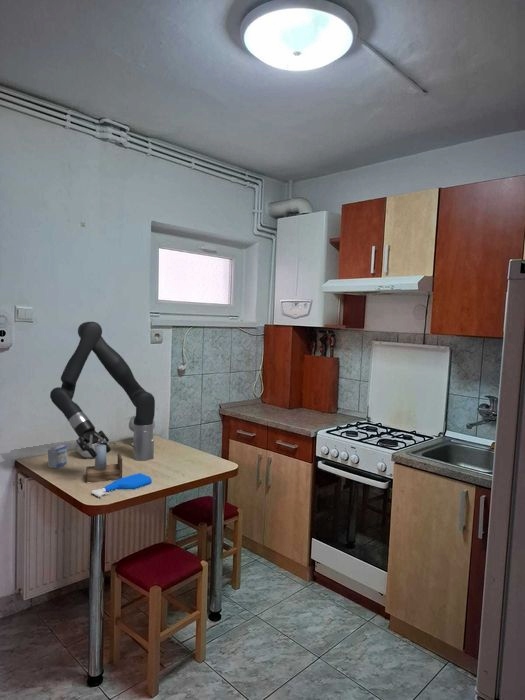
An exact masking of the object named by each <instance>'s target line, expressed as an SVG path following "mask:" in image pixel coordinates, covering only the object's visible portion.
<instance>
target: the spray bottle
mask: <svg viewBox="0 0 525 700" xmlns="http://www.w3.org/2000/svg"><path fill="white" fill-rule="evenodd" d="M152 480H153V479H152V477H151V476H149V475H146V474H144V473H141V472H140V473H135V474H132V475H128V476H123V477H122V478H120V479H118V480H113V481H112V482H110V483H109V484H107V485H105V486H104V487H103V488H98V489H92V490H91V494H94V495H96V496H98V497H97V498H99V497H102V498H103V496H105V495H104V494H106V495H111V492H112V491H111V490H113V491H116V490H115V489H118V490H120V489H133V490H137V489H140V487H141V488H143V487H146V486H148V484H149V485H151V484H152V482H153V481H152ZM150 483H151V484H150ZM145 485H146V486H145ZM142 486H143V487H142ZM136 488H137V489H136ZM109 491H111V492H109ZM104 492H109V493H104ZM94 495H93V496H94ZM96 496H95V497H96Z"/></svg>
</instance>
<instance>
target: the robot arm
mask: <svg viewBox="0 0 525 700" xmlns="http://www.w3.org/2000/svg"><path fill="white" fill-rule="evenodd" d="M77 335H78V336H79V338H80V339H79V342H78V345H77V346H76V349H75V350H74V351H73V354H72V355H71V357H70V358H69V360H68V361H67V363H66V365H65V367H64V369H63V372H62V373H61V376H60V381H61V386H60V387H59V386H58V387H54V388H53V389H52V390H51V391H50V394H49V395H50V400H51V402H52V403H53V404H54V405H55V407H56V408H57V409H58V410H59V411H60V412H61V413H62V414H63V415H64V417H65V418H66V419H67V421H68V423H69V425H70V426H71V428H72V429H73V431H74V433H76V435H77V436H78V437H77V439H76V442H77V443H78V444H79V446H80V448H81V449H82V451H88V452H89V454H90V455H91V456H92V457H93V458H92V459H95V457H96V456H97V453H96V452H95V451H94V449H93V448H92V444H100V445H106V454H108V453H110V452H111V451H112V449H111V447H110V446H109V445H110V444H109V445H108V444H107V442H108V441H110V439H109V437H107V435H106V434H105V432H104V431H103V430H100V431H98V432H97V431H96V427H95V425H94V424H93V423H92V421H91V420H90V419H89V417H88V416H87V415H86V413H84V411H83V409H81V407H80V406H79V405H78V404H77V403H76V402H74V401H73V398H74V396H75V395H74V394H75V392H76V387H77V382H78V381H79V378H80V375H81V374H82V371H83V369H84V366H85V364H86V362H87V360H88V358H89V356H90V354H91V352H93V353H94V354H95V356H96V358H97V359H98V360H99V362H100V363H101V365H102V366H103V367H104V369H105V370H106V372H108V374H109V375H110V376H111V377H112V379H114V381H115V382H116V383H117V384H118V385H119V386H120V387H121V388H122V389H123V390H124V392H125V393H126V394H127V397H128V398H129V400H130V401H131V403H132V404H133V406H134V407H135V416H136V417H135V418H134V432H133V442H134V446H133V459H134V460H136V461H148V460H152V459H153V460H154V457H155V456H154V452H155V451H154V449H155V445H154V442H155V440H154V429H153V419H154V420H155V413H156V412H155V411H156V410H155V409H156V406H155V405H156V403H155V402H156V400H155V396H154V395H153V394H152V393H150V392H148V391H146V390H145V389H144V388H143V387H142V386H141V385H140V384H139V382H138V381H137V380H136V378H135V375H134V374H133V371H132V369H131V368H130V366H129V365H128V363H127V362H126V360H125V359H124V358H123V357H122V356H121V354H119V352H117V351H116V350H115V349H114V348H113V347H111V346H110V344H108V343H107V342H106V340H105V339H104V338H103V336H102V335H103V329H102V326H101V325H100V324H99V323H98V322H96V321H85V322H82V323H81V324H80V325H79V326H78V329H77ZM104 438H105V439H106V440H104ZM99 439H100V440H99ZM98 440H99V441H98ZM101 441H102V442H103V443H102V442H101ZM83 446H84V447H83Z"/></svg>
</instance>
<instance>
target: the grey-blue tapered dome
mask: <svg viewBox="0 0 525 700" xmlns="http://www.w3.org/2000/svg"><path fill="white" fill-rule="evenodd" d="M95 452H96V453H97V456H96V457H95V458H94V466H95V470H99V471H100V470H105V469H106V465H107V452H106V445H96V446H95Z"/></svg>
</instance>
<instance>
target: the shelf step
mask: <svg viewBox="0 0 525 700" xmlns="http://www.w3.org/2000/svg"><path fill="white" fill-rule="evenodd" d="M120 478H123V458H122V455H121V453H120V452H117V463H113V464H106V469H105V470H100V471H99V470H95V465H91V466H90V465H89V466H86V482H92V483H100V482H99V481H102V482H109V480H112V481H116V480H118V479H120Z"/></svg>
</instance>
